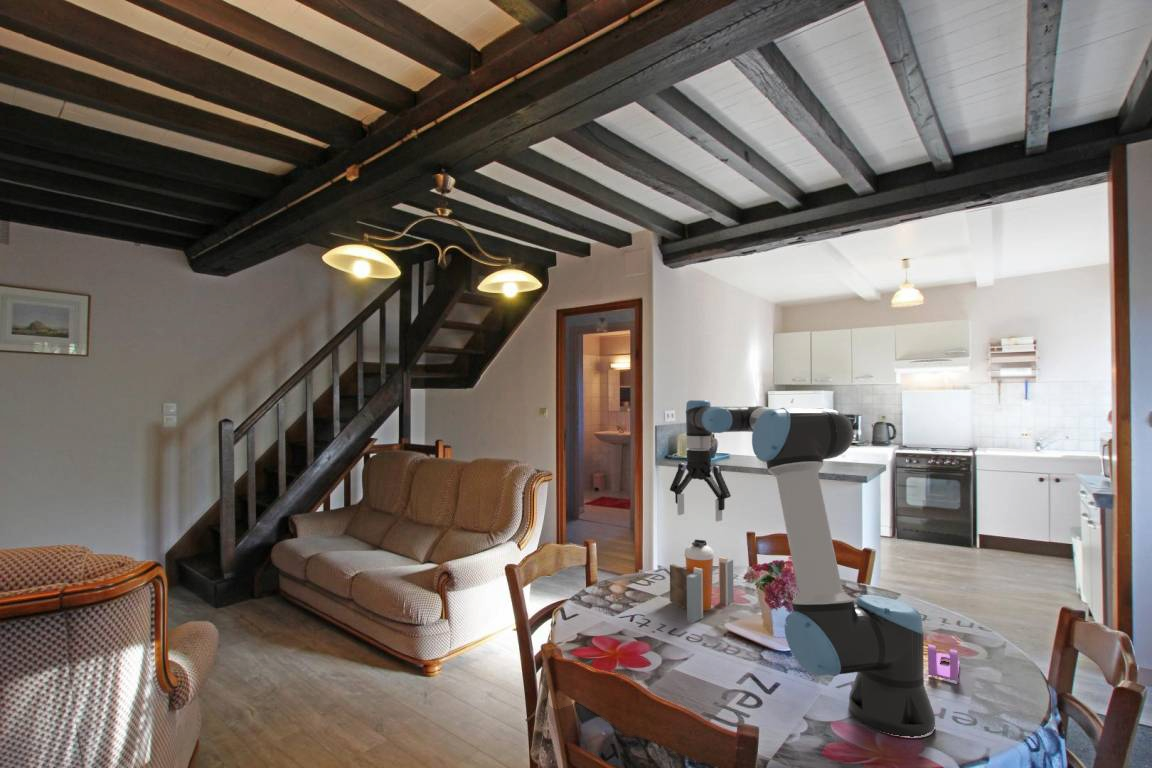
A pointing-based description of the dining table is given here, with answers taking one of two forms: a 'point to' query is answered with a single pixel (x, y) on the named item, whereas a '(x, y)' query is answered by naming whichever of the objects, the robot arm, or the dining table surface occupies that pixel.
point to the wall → (697, 589)
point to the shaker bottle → (701, 566)
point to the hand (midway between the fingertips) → (699, 517)
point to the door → (678, 585)
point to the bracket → (940, 670)
